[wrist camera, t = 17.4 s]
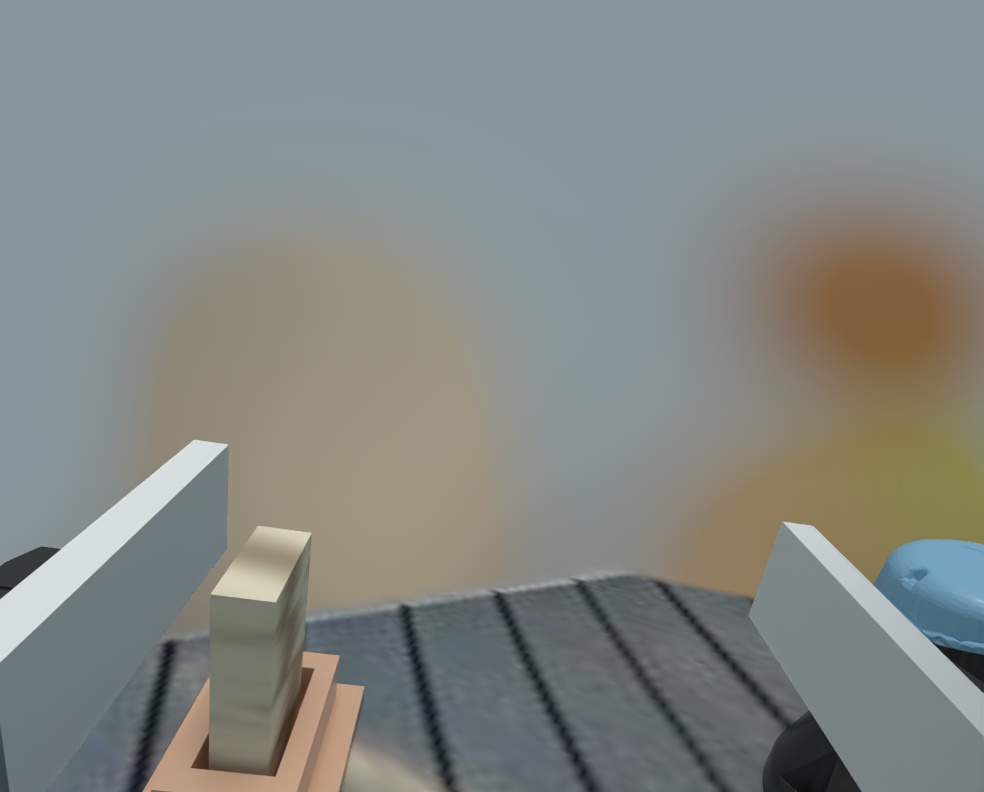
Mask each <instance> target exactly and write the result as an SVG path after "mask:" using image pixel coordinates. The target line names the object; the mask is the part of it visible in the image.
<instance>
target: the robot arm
mask: <svg viewBox="0 0 984 792" xmlns="http://www.w3.org/2000/svg"><path fill="white" fill-rule="evenodd" d="M228 457H229V445H227V444H220V443H212V442H206V441H198V440H194V441H192V442H191V443H190V444H189V445H187V446H186V447H185V448H184V449H183V450H181V451H180V452H179V453H178V454H176V455H175V456H174V457H173V458H172V459H170V460H169V461H168V462H167V463H165V464H164V465H163V466H162V467H161V468H159V469H158V470H157V471H156V472H155V473H153V474H152V475H151V476H150V477H148V478H147V479H146V480H145V481H144V482H142V483H141V484H140V485H139V486H138V487H136V488H135V489H134V490H133V491H131V492H130V493H129V494H128V495H127V496H125V497H124V498H123V499H122V500H121V501H119V502H118V503H117V504H116V505H114V506H113V507H112V508H111V509H110V510H108V511H107V512H106V513H105V514H103V515H102V516H101V517H100V518H99V519H97V520H96V521H95V522H94V523H93V524H91V525H90V526H89V527H88V528H86V529H85V530H84V531H83V532H82V533H80V534H79V535H78V536H77V537H75V538H74V539H73V540H72V541H71V542H69V543H68V544H67V545H66V546H65V547H63V548H62V549H56V548H48V547H39V548H37V549H34V550H32V551H30V552H28V553H25V554H23V555H21V556H19V557H16V558H14V559H12V560H10V561H8V562H5V563H4V564H3V565H1V566H0V792H47V791H48V790H49V788H50V787H51V785H52V784H53V783H54V781H55V780H56V779H57V777H58V776H59V775H60V773H61V772H62V771H63V769H64V768H65V767H66V765H67V764H68V763H69V761H70V760H71V758H72V757H73V756H74V754H75V753H76V752H77V750H78V749H79V748H80V746H81V745H82V744H83V742H84V741H85V740H86V738H87V737H88V736H89V734H90V733H91V731H92V730H93V729H94V727H95V726H96V725H97V723H98V722H99V721H100V719H101V718H102V717H103V715H104V714H105V713H106V711H107V710H108V708H109V707H110V706H111V704H112V703H113V702H114V700H115V699H116V698H117V696H118V695H119V694H120V692H121V691H122V690H123V688H124V687H125V686H126V684H127V683H128V681H129V680H130V679H131V677H132V676H133V675H134V673H135V672H136V671H137V669H138V668H139V667H140V665H141V664H142V663H143V661H144V660H145V659H146V657H147V656H148V654H149V653H150V652H151V650H152V649H153V648H154V646H155V645H156V644H157V642H158V641H159V640H160V638H161V637H162V636H163V634H164V633H165V632H166V630H167V629H168V627H169V626H170V625H171V623H172V622H173V621H174V619H175V618H176V617H177V615H178V614H179V612H180V611H181V610H182V609H183V607H184V606H185V604H186V603H187V602H188V600H189V599H190V598H191V596H192V595H193V594H194V592H195V591H196V589H197V588H198V587H199V586H200V584H201V583H202V582H203V580H204V579H205V577H206V576H207V575H208V573H209V572H210V571H211V569H212V568H213V567H214V565H215V564H216V563H217V561H218V560H219V558H220V557H221V556H222V554H223V553H224V552H225V550H226V549H227V507H228V506H227V505H228ZM749 617H750V618H751V620H752V622H753V623H754V625H755V626H756V628H757V629H758V631H759V633H760V634H761V636H762V637H763V639H764V640H765V642H766V643H767V645H768V647H769V648H770V650H771V651H772V653H773V654H774V656H775V657H776V659H777V661H778V662H779V664H780V665H781V667H782V668H783V670H784V671H785V673H786V675H787V676H788V678H789V679H790V681H791V682H792V684H793V685H794V687H795V689H796V690H797V692H798V693H799V695H800V696H801V698H802V699H803V701H804V703H805V704H806V706H807V707H808V709H809V711H807V712H806V713H805V714H804V715H803V716H801V717H800V718H799V719H798V720H797V721H795V722H794V723H793V724H792V725H791V726H789V727H788V728H787V729H786V730H785V731H783V732H782V733H781V734H780V736H779V737H778V738H777V740H776V741H775V743H774V745H773V747H772V750H771V752H770V755H769V757H768V759H767V762H766V765H765V768H764V775H763V784H764V792H984V545H983V544H978V543H973V542H966V541H959V540H945V539H927V540H918V541H914V542H910V543H907V544H904V545H902V546H900V547H899V548H897V549H895V550H894V551H893V552H892V553H891V554H890V555H889V556H888V558H887V559H886V562H885V563H884V565H883V567H882V569H881V571H880V573H879V575H878V577H877V578H876V580H875V582H874V584H871V583H870V582H869V581H868V580H867V579H866V578H865V577H864V576H863V575H862V574H861V573H860V572H859V571H858V570H857V569H856V568H855V567H854V566H853V565H852V564H851V563H850V562H849V561H848V560H847V559H846V558H845V557H844V556H843V555H842V554H841V553H840V552H839V551H838V550H837V549H836V548H835V547H834V546H833V545H832V544H831V543H830V542H829V541H828V540H827V539H826V538H825V537H824V536H822V534H821V533H819V531H818V530H816V529H815V528H814V527H813V526H808V525H802V524H794V523H788V522H783V523H782V525H781V528H780V531H779V533H778V536H777V539H776V542H775V544H774V547H773V550H772V553H771V555H770V558H769V561H768V564H767V566H766V569H765V572H764V575H763V577H762V580H761V583H760V586H759V588H758V592H757V594H756V597H755V599H754V602H753V605H752V608H751V610H750V613H749Z"/></svg>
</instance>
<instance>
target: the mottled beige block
mask: <svg viewBox="0 0 984 792" xmlns="http://www.w3.org/2000/svg"><path fill="white" fill-rule="evenodd" d="M311 535H312V533H309V532H301V531H293V530H285V529H277V528H270V527H263V526H258V527H257V528H256V530H255V531H254V532H253V534H252V536H251V537H250V538H249V540H248V541H247V543H246V544H245V546H244V547H243V548H242V550H241V551H240V553H239V554H238V555H237V557H236V558H235V560H234V561H233V563H232V564H231V566H230V567H229V568H228V570H227V571H226V573H225V574H224V576H223V577H222V579H221V580H220V581H219V583H218V584H217V586H216V587H215V589H214V590H213V591H212V593H211V595H210V596H211V597H210V693H209V770H214V771H224V772H234V773H243V774H253V775H263V776H272V777H276V774H277V771H278V769H279V766H280V763H281V760H282V758H283V755H284V752H285V749H286V747H287V744H288V741H289V738H290V735H291V733H292V730H293V727H294V724H295V722H296V719H297V716H298V713H299V702H300V688H301V674H302V660H303V647H304V633H305V619H306V605H307V591H308V578H309V563H310V550H311Z"/></svg>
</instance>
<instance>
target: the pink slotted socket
mask: <svg viewBox="0 0 984 792" xmlns="http://www.w3.org/2000/svg"><path fill="white" fill-rule="evenodd" d="M339 659H340V656H337V655H328V654H320V653H311V652H303V660H302V674H301V688H300V702H299V713H298V716H297V719H296V722H295V724H294V727H293V730H292V733H291V735H290V738H289V741H288V744H287V747H286V749H285V752H284V755H283V758H282V760H281V763H280V766H279V769H278V771H277V774H276V777H272V776H263V775H253V774H243V773H234V772H224V771H214V770H209V693H210V676H209V678H208V680H207V682H206V683H205V685H204V687H203V689H202V690H201V692H200V694H199V696H198V697H197V699H196V701H195V702H194V704H193V706H192V708H191V709H190V711H189V713H188V715H187V716H186V718H185V720H184V722H183V723H182V725H181V727H180V728H179V730H178V732H177V734H176V735H175V737H174V739H173V741H172V742H171V744H170V746H169V747H168V749H167V751H166V753H165V754H164V756H163V758H162V760H161V761H160V763H159V765H158V767H157V768H156V770H155V772H154V773H153V775H152V777H151V779H150V780H149V782H148V784H147V786H146V787H145V789H144V791H143V792H340V790H341V786H342V782H343V778H344V774H345V770H346V765H347V761H348V757H349V753H350V749H351V745H352V741H353V737H354V733H355V728H356V724H357V720H358V716H359V712H360V708H361V704H362V700H363V695H364V687H363V686H355V685H346V684H337V680H338V670H339Z"/></svg>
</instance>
